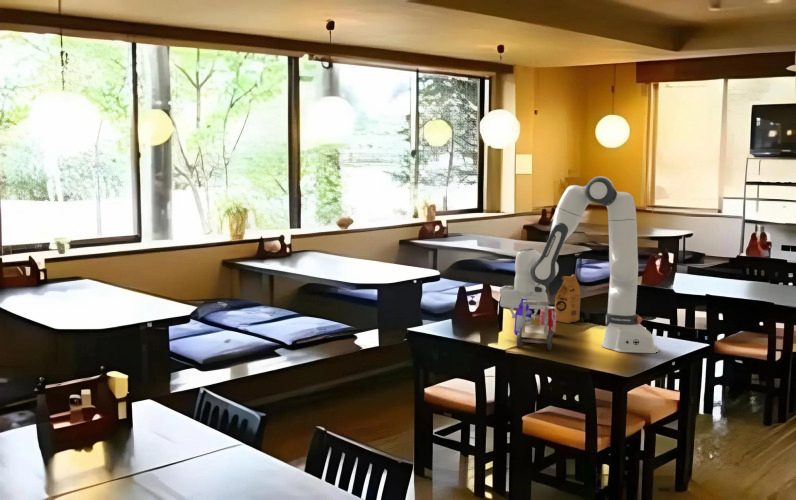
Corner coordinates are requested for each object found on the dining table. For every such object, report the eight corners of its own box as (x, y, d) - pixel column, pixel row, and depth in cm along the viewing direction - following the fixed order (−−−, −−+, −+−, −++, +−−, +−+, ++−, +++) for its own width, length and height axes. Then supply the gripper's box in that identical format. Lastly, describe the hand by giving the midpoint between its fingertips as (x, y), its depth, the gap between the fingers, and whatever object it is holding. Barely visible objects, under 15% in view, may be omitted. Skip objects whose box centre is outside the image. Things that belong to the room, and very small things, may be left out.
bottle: (521, 337, 333) (524, 297, 330) (511, 334, 337) (514, 294, 335) (532, 335, 337) (536, 295, 335) (522, 332, 342) (525, 293, 339)
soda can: (554, 332, 350) (555, 305, 349) (556, 336, 343) (557, 308, 342) (538, 331, 351) (539, 305, 349) (539, 335, 344) (541, 308, 342)
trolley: (552, 342, 330) (554, 296, 328) (550, 351, 314) (552, 302, 312) (519, 340, 333) (521, 294, 331) (516, 348, 317) (518, 300, 315)
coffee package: (550, 320, 376) (552, 275, 374) (564, 317, 385) (566, 273, 383) (568, 324, 370) (570, 277, 367) (582, 320, 379) (584, 275, 376)
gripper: (499, 286, 334) (498, 318, 335) (548, 289, 329) (547, 321, 331) (500, 284, 340) (499, 315, 342) (549, 286, 335) (547, 318, 337)
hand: (523, 318), depth 336 cm, fingers closed on bottle, 7 cm apart
